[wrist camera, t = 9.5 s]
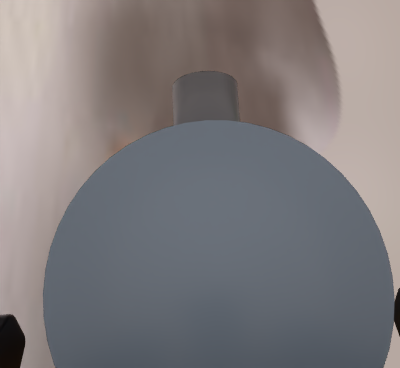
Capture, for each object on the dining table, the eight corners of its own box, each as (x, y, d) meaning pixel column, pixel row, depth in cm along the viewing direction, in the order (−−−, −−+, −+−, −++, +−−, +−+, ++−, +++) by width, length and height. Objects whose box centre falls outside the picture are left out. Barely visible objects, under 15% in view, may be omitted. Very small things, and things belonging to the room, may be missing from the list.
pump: (270, 321, 16) (422, 477, 4) (165, 326, 16) (35, 491, 4) (258, 178, 17) (350, 0, 6) (161, 184, 17) (53, 20, 6)
